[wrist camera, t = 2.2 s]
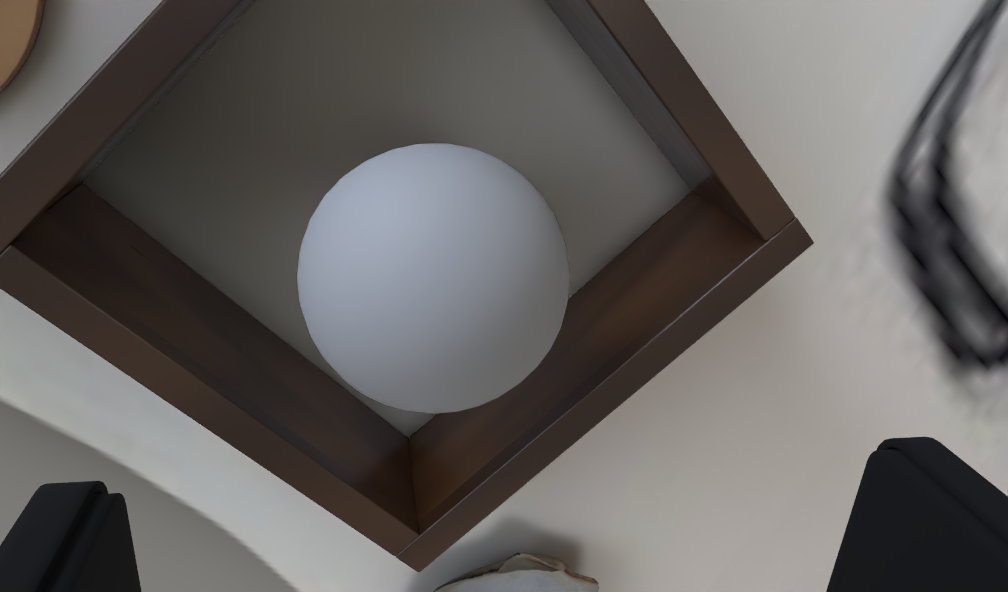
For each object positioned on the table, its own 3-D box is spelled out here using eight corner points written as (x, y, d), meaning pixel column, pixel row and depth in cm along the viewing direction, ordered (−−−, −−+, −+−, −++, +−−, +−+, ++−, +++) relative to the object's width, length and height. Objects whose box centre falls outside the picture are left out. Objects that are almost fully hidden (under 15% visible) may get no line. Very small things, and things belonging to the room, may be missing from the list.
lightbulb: (492, 276, 25) (579, 468, 16) (314, 269, 24) (285, 474, 14) (513, 100, 23) (631, 195, 13) (317, 82, 22) (286, 170, 12)
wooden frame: (32, 181, 21) (-66, 244, 16) (417, -226, 19) (438, -296, 14) (407, 467, 28) (419, 573, 23) (726, 191, 26) (815, 242, 21)
